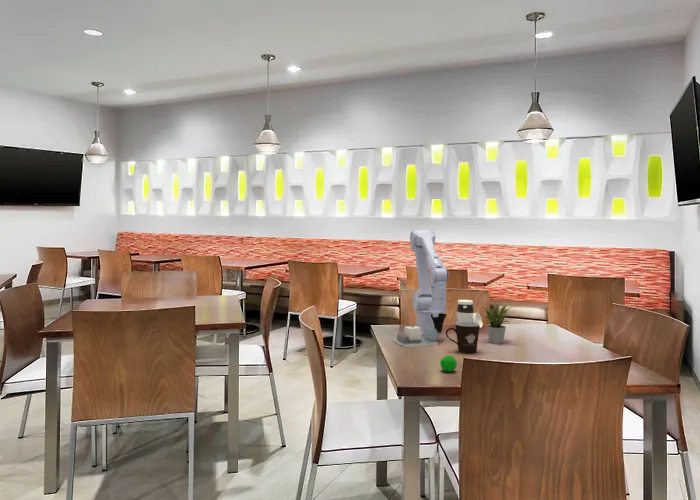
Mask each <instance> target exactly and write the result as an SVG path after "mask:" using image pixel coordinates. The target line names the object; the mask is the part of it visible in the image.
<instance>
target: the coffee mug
mask: <svg viewBox="0 0 700 500" xmlns="http://www.w3.org/2000/svg"><path fill="white" fill-rule="evenodd" d="M480 329H481V328H480V324H478V323H473V322H458V323H457V322H455V328H454V327H449V328H447V329H446V330H445V336H446V338H447V339H449V341H451V342H453V343H454V344H456V346H457V350H458V351H457V352H459V353H461V354H465V355H467V354H470V355H471V354H472V355H473V354H476V353H477V351H478V350H477V349H478V342H479V341H478V340H479V334H480ZM451 330H453V331H454V332H455V334H456V340H457V341H455V340H453V339H452V338H450V336H449V335H448V331H451Z"/></svg>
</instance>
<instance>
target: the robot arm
mask: <svg viewBox="0 0 700 500" xmlns="http://www.w3.org/2000/svg"><path fill="white" fill-rule="evenodd" d="M409 235H410V236H409V243H410V245H409V246H410V249H411V251H412V252H414V256H415V266H416V273H417V283H418V290H416V291H415V292H414V293H413V295H412V307H413V310H414V311H415V312H416V326H417V327H419V328H421V336H424V327H428V326H429V327H432V328H434V329H436V330H437V335H438V334H439V335H440V334H442V331H443V327H444V322H445V319H446V318H447V313H446V312H447V310H448V309H447V282H448V281H449V278H450V277H449V275H450V273H449V269H448V268H447V267H446V266H445V265H444V264H443V262H442V259H441V256H440V255H439V254H437V252H436V248H435V243H436V232H435V231H434V229H430V230H429V229H425V230H424V229H423V230H422V229H418V230H417V229H412V230H411V231H410V233H409Z"/></svg>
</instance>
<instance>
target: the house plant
mask: <svg viewBox="0 0 700 500" xmlns="http://www.w3.org/2000/svg"><path fill="white" fill-rule="evenodd" d="M482 305H483V306H484V307H483V306H480V307H482V308H483V309H484V310H485V314H486V315H482V317H484V318H486V319H485V321H486V322H488V323H489V324H487V325H486V326H487V327H486V329H487V336H488V340H489V341H488V342H489V343H491V344H496V345H500V344H503V343H504V340H505V339H504V338H505V333H506V328H507V327H506V325H502V324H503V323H506V322H508V323H510V321H509V320H511V318H509V317H508V318H507V316H508V314H507V312H508V311H509V310H510V309H511V308H517V307H518V306H516V305H513V306H511V307H509V308H508V307H507V306H508V305H509V303H507V304H505V305H503V306H502V307H501V309H500V312H499V307H498V305H497V304H496V302H494V303H493V309H492V310H491V308H489V306H487V305H486V304H484V303H483V304H482ZM485 307H486V308H485ZM487 319H488V320H489V321H488V320H487ZM483 321H484V319H483V320H482V322H483Z"/></svg>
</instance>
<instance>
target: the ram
mask: <svg viewBox="0 0 700 500" xmlns="http://www.w3.org/2000/svg"><path fill="white" fill-rule="evenodd" d="M423 336H424V337H426V338H428V339H430V340H434V341H437V339H438V334H437V330H436V329H434V328H432V327H429V326H428V327H424V335H423Z"/></svg>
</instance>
